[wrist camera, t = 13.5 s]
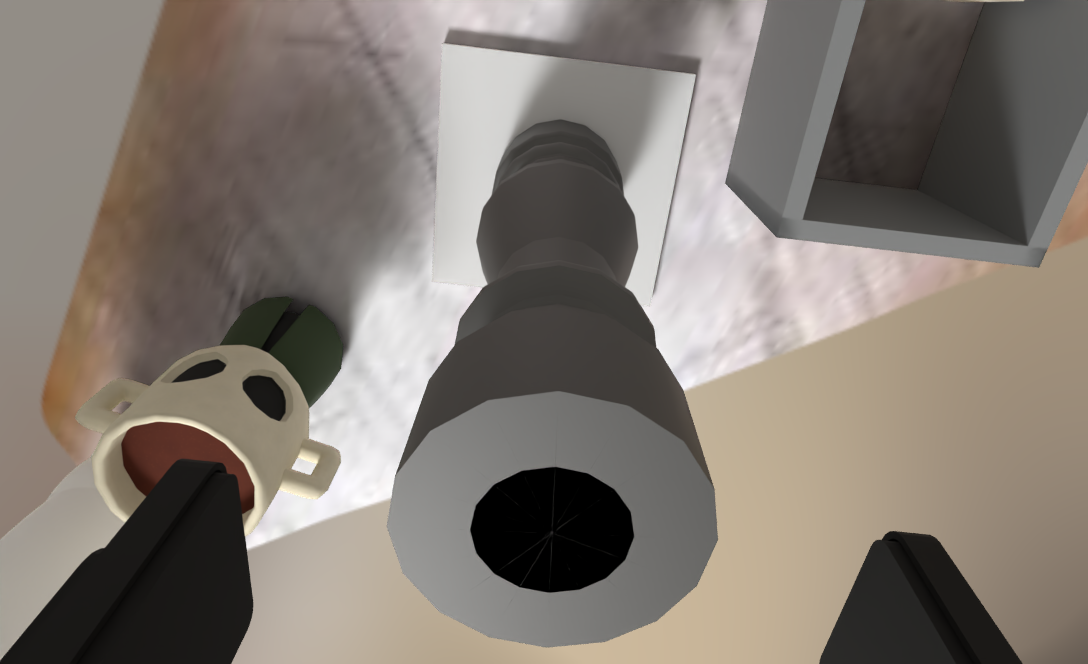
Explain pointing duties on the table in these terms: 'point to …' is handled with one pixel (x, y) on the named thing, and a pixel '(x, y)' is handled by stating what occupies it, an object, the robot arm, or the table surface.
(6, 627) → the water bottle
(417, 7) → the table surface
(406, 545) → the candle holder
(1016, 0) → the upper offcut
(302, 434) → the character mug
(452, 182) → the mat
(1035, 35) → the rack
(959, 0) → the block
